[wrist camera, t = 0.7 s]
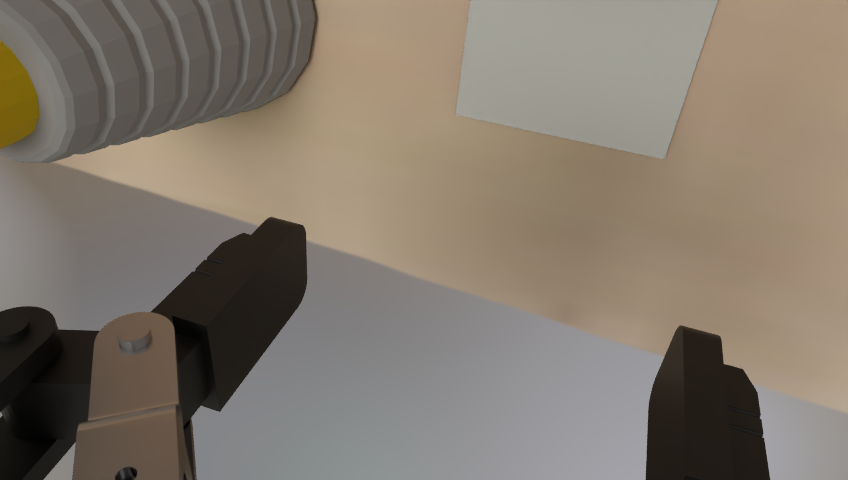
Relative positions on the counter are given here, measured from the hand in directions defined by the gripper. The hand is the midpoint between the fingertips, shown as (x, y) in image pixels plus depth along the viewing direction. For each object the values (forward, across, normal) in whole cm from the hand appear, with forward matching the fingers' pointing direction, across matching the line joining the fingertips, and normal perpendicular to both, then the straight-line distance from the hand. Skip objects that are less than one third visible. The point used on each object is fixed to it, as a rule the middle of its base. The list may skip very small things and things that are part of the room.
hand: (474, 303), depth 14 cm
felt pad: (+22, 0, +2) cm, 22 cm away
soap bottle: (+22, +20, +2) cm, 30 cm away
